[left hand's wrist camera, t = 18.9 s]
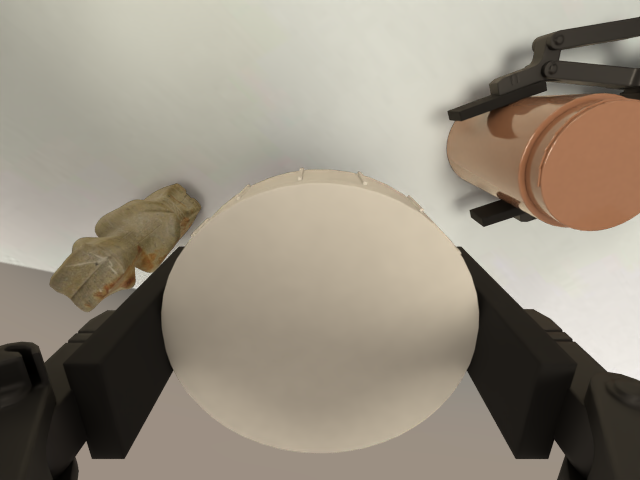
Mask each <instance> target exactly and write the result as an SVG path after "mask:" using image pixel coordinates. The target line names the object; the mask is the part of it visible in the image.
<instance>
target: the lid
mask: <svg viewBox="0 0 640 480" xmlns="http://www.w3.org/2000/svg"><path fill="white" fill-rule="evenodd" d="M423 211H424V209H423V208H422V207H421V206H420V205H419V204H418V203H417V202H416V201H415V200H414V199H413V198H412V197H411V196H409V195H408V197H406V196H405V195H403V194H402V193H400V192H398V191H397V190H395V189H393V188H392V187H390V186H388V185H386V184H384V183H382V182H379V181H377V180H374V179H372V178H370V177H366V176H363V174H362V173H361V172H358V174H355V173H351V172H345V171H338V170H330V169H329V170H304V168H300V171H295V172H289V173H285V174H282V175H278V176H274V177H271V178H268V179H266V180H264V181H261V182H259V183H256V184H254V185H252V186H250V184H249V185H247V186H246V187H245V188H244V189H243V190H242V191H241V192H240V193H239V194H237V195H236V196H234V197H233V198H232V199H231V200H229V201H228V202H227V203H226V204H224V205H223V206H222V207H221V208H220V209H219V210H218V211H217V212H216V213H215V214H214V215H213V216H212V217H211V218H210V219H209V218H207V219H206V220H205V221H204V222H203V223H202V224H201V225H200V226H199V227H198V228H197V229H196V230H195V231H194V232H193V233H192V234H191V237H192V239H191V240H190V241H189V242H188V243H187V245H186V246H185V248H184V249H183V251H182V252H181V253H180V255H179V256H178V258H177V260H176V262H175V264H174V266H173V268H172V270H171V272H170V275H169V277H168V280H167V284H166V287H165V291H164V294H163V302H162V310H161V322H162V332H163V338H164V343H165V349H166V352H167V355H168V358H169V361H170V364H171V366H172V368H173V370H174V372H175V374H176V376H177V378H178V380H179V381H180V383H181V384H182V385H183V387H184V388H185V390H186V391H187V393H188V394H189V395H190V396H191V397H192V398H193V400H194V401H195V402H196V403H197V404H198V405H199V406H200V407H201V408H202V409H203V410H204V411H205V412H207V413H208V414H209V415H210V416H211V417H212V418H214V419H215V420H217V421H218V422H219V423H221V424H222V425H224V426H225V427H227V428H228V429H230V430H232V431H234V432H236V433H238V434H239V435H241V436H243V437H246V438H248V439H251V440H253V441H255V442H258V443H261V444H264V445H268V446H271V447H274V448H279V449H284V450H289V451H294V452H304V453H336V452H347V451H352V450H357V449H362V448H366V447H370V446H373V445H376V444H380V443H383V442H385V441H387V440H390V439H392V438H395V437H397V436H399V435H401V434H403V433H405V432H407V431H408V430H410V429H412V428H414V427H415V426H417V425H418V424H420V423H421V422H422V421H424V420H425V419H427V418H428V417H429V416H430V415H431V414H433V413H434V412H435V411H436V410H437V409H438V408H440V407H441V406H442V404H443V403H444V402H445V401H446V400H447V399H448V398H449V397H450V396H451V394H452V393H453V392H454V390H455V389H456V387H457V386H458V385H459V383H460V382H461V380H462V378H463V377H464V375H465V373H466V371H467V369H468V367H469V365H470V362H471V359H472V356H473V353H474V350H475V345H476V340H477V334H478V329H479V307H478V300H477V293H476V290H475V286H474V283H473V279H472V276H471V274H470V272H469V270H468V268H467V265H466V263H465V261H464V259H463V257H462V256H461V252H460V250H459V249H458V248H457V247H456V246H455V245H454V244H453V243H452V241H451V240H450V239H449V238H448V237H447V236H446V235H445V234H444V233H443V232H442V231H441V230H440V229H439V228H438V226H437V225H436V224H435V223H434V222H433V221H432V220H431V219H430V218H429V217H428V216H427V215H426V214H425V213H424V212H423Z"/></svg>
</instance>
